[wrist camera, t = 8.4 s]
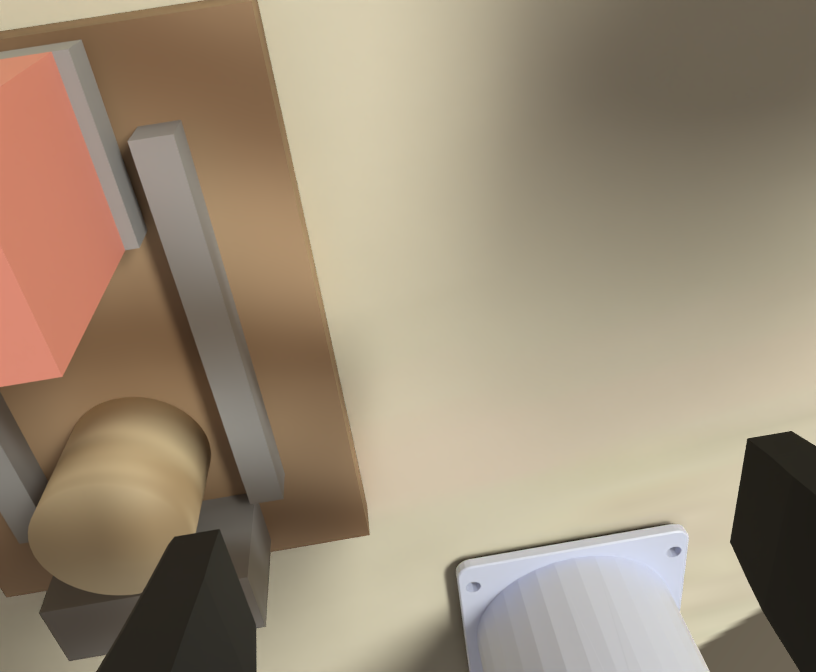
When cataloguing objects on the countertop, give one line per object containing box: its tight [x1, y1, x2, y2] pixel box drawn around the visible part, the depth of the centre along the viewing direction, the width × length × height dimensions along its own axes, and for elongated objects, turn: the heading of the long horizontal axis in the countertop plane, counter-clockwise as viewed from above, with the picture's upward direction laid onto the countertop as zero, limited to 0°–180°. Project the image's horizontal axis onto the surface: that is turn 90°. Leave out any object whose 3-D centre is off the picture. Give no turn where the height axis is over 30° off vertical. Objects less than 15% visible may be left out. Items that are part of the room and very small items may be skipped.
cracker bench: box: [0, 0, 370, 661], centre depth 17 cm, size 15×11×4 cm
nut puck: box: [28, 397, 211, 595], centre depth 18 cm, size 4×4×3 cm
